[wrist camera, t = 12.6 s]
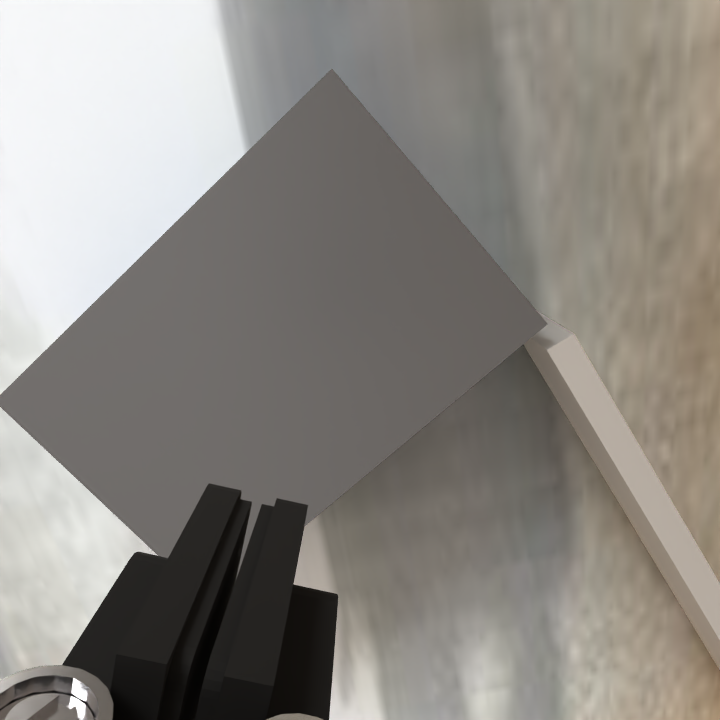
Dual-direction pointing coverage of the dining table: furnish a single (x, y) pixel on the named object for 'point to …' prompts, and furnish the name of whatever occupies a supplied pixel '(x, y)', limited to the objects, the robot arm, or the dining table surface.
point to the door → (629, 477)
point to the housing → (275, 332)
